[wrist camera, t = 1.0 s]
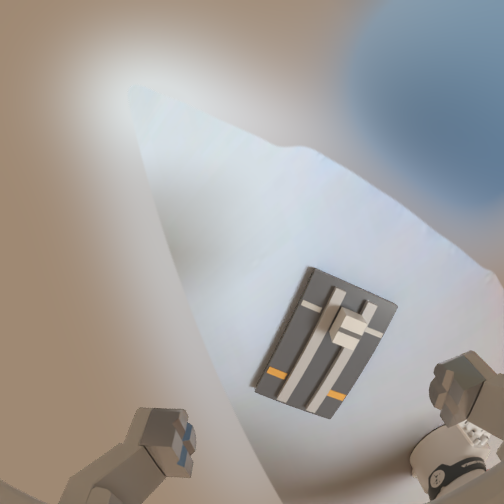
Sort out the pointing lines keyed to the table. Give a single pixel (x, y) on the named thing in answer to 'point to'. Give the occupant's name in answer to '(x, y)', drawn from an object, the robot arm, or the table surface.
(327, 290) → the slider console
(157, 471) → the robot arm
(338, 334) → the fader knob
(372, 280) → the table surface
